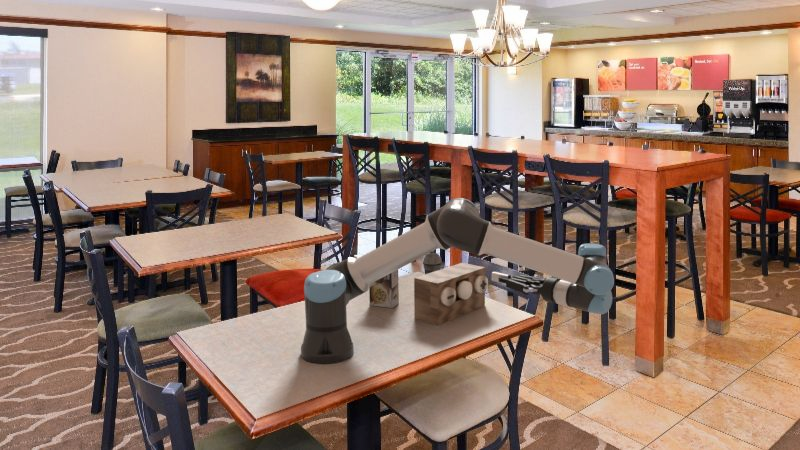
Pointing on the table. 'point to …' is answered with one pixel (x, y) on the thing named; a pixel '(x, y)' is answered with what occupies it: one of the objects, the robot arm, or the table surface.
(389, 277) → the coffee box
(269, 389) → the table surface
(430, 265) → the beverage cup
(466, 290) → the plain button
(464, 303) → the walnut console
